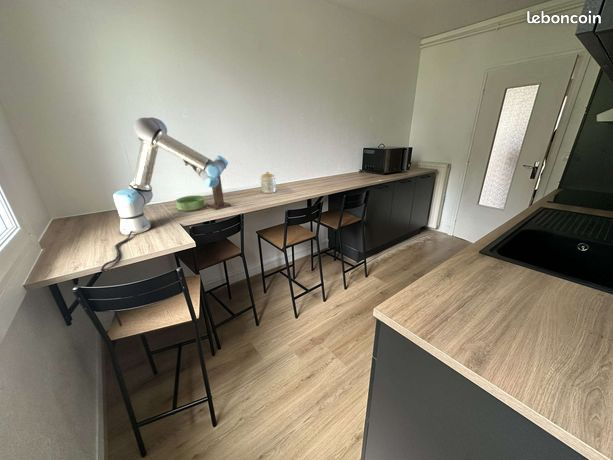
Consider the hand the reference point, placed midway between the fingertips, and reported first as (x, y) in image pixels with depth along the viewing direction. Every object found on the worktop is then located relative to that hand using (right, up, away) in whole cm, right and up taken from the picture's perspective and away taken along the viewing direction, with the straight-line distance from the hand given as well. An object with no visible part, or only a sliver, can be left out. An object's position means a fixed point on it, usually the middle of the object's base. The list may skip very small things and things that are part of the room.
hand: (182, 147), depth 168 cm
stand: (+18, -37, +21) cm, 46 cm away
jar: (+49, -21, +58) cm, 79 cm away
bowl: (-3, -38, +20) cm, 43 cm away
